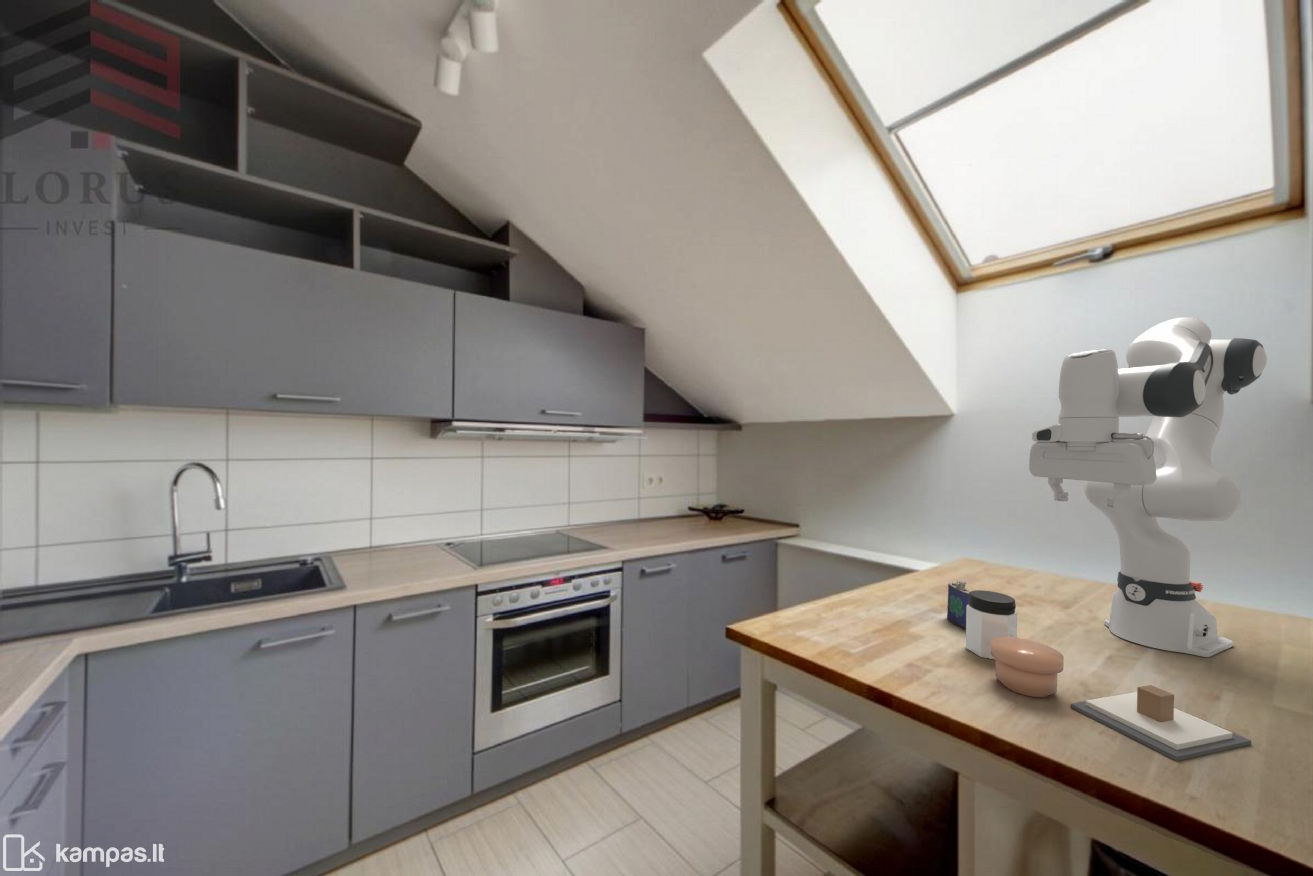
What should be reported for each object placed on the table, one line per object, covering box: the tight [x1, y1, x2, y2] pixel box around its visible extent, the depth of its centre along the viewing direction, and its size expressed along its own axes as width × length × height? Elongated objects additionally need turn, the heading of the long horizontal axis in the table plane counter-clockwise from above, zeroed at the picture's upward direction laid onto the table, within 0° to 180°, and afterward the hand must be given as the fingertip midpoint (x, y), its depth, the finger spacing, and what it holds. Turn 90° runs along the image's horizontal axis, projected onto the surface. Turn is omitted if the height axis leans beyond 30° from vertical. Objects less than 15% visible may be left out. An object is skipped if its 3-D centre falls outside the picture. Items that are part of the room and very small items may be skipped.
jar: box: [965, 589, 1018, 661], centre depth 103 cm, size 9×8×12 cm
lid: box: [1085, 684, 1234, 750], centre depth 78 cm, size 12×12×5 cm
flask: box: [946, 580, 972, 631], centre depth 119 cm, size 9×3×11 cm, turn 2°
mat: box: [1069, 700, 1252, 762], centre depth 78 cm, size 16×14×1 cm
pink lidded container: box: [991, 637, 1065, 698], centre depth 89 cm, size 11×11×7 cm
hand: (1086, 504), depth 95 cm, fingers open, 8 cm apart
